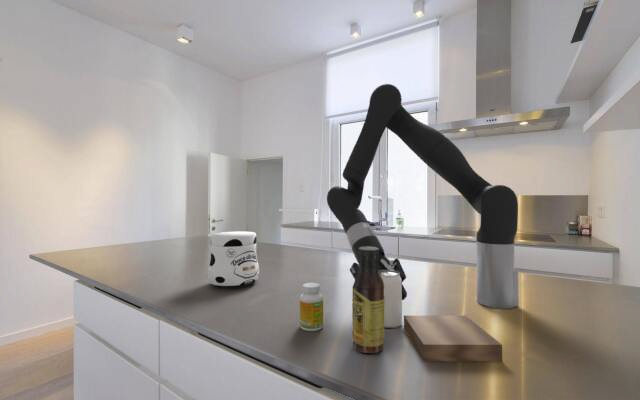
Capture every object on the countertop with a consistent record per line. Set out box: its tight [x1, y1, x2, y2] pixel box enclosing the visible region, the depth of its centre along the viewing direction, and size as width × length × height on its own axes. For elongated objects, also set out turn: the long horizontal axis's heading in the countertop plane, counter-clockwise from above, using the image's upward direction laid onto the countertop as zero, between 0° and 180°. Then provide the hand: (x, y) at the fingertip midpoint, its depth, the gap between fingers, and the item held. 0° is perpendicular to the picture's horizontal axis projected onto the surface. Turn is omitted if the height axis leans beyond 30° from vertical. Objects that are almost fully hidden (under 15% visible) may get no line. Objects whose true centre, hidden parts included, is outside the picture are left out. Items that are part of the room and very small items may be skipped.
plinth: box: [403, 315, 503, 363], centre depth 61 cm, size 14×14×3 cm
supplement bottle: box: [299, 282, 324, 332], centre depth 70 cm, size 5×5×10 cm
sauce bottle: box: [351, 246, 385, 354], centre depth 60 cm, size 7×6×20 cm
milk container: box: [207, 231, 260, 289], centre depth 107 cm, size 17×17×18 cm
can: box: [378, 270, 403, 329], centre depth 72 cm, size 6×6×12 cm
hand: (392, 300), depth 70 cm, fingers closed on can, 6 cm apart
